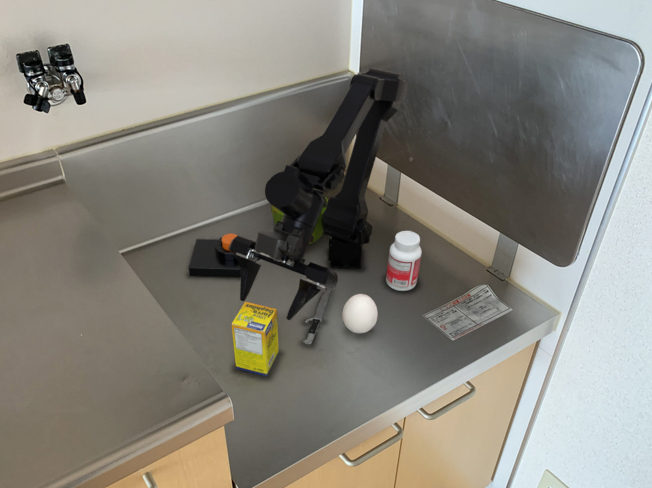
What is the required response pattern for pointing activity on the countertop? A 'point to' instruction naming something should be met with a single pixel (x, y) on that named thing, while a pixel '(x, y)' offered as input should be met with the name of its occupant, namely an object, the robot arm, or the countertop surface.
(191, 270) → the black button base
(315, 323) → the knife
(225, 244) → the button
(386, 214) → the countertop surface
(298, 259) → the robot arm
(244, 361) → the supplement box
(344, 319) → the egg
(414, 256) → the pill bottle
